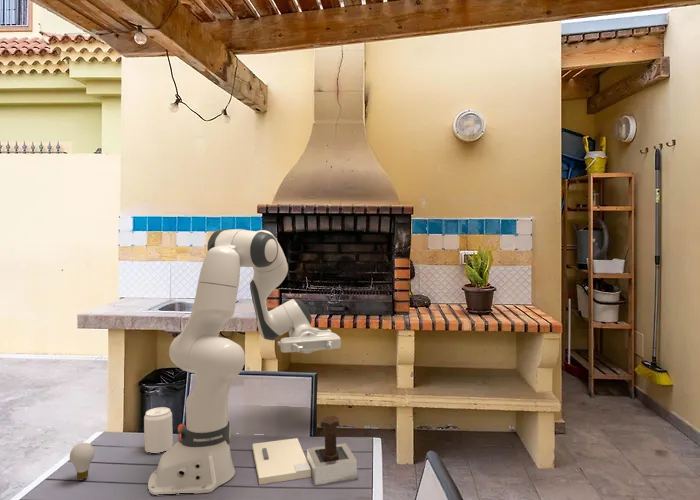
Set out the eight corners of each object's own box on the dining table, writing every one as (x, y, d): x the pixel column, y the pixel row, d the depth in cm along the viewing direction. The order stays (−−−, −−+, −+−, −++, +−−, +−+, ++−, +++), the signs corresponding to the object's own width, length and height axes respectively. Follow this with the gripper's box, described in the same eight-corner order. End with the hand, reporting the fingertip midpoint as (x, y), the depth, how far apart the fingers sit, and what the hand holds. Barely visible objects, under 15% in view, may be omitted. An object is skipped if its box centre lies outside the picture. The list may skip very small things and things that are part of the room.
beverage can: (142, 456, 144) (142, 417, 144) (146, 445, 152) (145, 408, 152) (171, 453, 146) (170, 414, 146) (173, 442, 154) (173, 405, 154)
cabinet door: (259, 484, 127) (259, 475, 127) (252, 449, 148) (252, 441, 148) (311, 476, 131) (310, 467, 131) (297, 443, 152) (297, 435, 152)
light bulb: (99, 477, 132) (98, 441, 132) (78, 487, 127) (77, 450, 126) (87, 472, 135) (86, 437, 135) (65, 481, 130) (64, 445, 129)
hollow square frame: (315, 485, 126) (315, 466, 126) (307, 465, 137) (307, 448, 137) (357, 478, 130) (357, 460, 129) (345, 459, 141) (345, 443, 140)
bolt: (340, 477, 131) (339, 422, 130) (322, 477, 130) (320, 423, 130) (340, 466, 136) (338, 414, 136) (322, 467, 136) (320, 415, 136)
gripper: (276, 332, 163) (282, 341, 150) (334, 328, 169) (345, 336, 156) (276, 351, 163) (282, 361, 150) (334, 346, 169) (345, 355, 156)
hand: (314, 348), depth 153 cm, fingers open, 8 cm apart
